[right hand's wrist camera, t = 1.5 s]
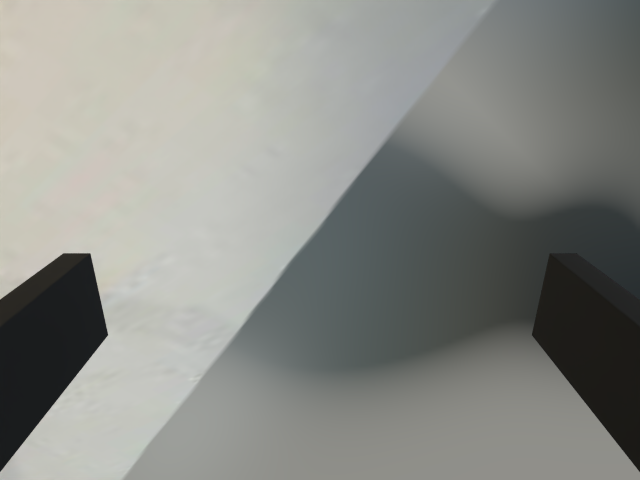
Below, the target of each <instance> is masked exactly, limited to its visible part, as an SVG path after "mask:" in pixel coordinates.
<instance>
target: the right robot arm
mask: <svg viewBox="0 0 640 480" xmlns="http://www.w3.org/2000/svg"><path fill="white" fill-rule="evenodd" d="M107 336H108V332H107V328H106V323H105V319H104V314H103V309H102V305H101V300H100V296H99V291H98V287H97V282H96V277H95V273H94V268H93V264H92V259H91V254H90V253H63V254H62V255H61V256H59V257H58V258H57V259H55V260H54V261H53V262H51V263H50V264H48V265H47V266H46V267H44V268H43V269H42V270H40V271H39V272H37V273H36V274H35V275H33V276H32V277H31V278H29V279H28V280H26V281H25V282H24V283H22V284H21V285H20V286H18V287H17V288H16V289H14V290H13V291H11V292H10V293H9V294H7V295H6V296H5V297H3V298H2V299H0V471H1V470H2V469H3V468H4V466H5V465H6V464H7V463H8V461H9V460H10V459H11V457H12V456H13V455H14V454H15V452H16V451H17V450H18V449H19V447H20V446H21V445H22V444H23V442H24V441H25V440H26V438H27V437H28V436H29V435H30V433H31V432H32V431H33V430H34V428H35V427H36V426H37V425H38V423H39V422H40V421H41V419H42V418H43V417H44V416H45V414H46V413H47V412H48V411H49V409H50V408H51V407H52V405H53V404H54V403H55V402H56V400H57V399H58V398H59V397H60V395H61V394H62V393H63V392H64V390H65V389H66V388H67V386H68V385H69V384H70V383H71V381H72V380H73V379H74V378H75V376H76V375H77V374H78V373H79V371H80V370H81V369H82V367H83V366H84V365H85V364H86V362H87V361H88V360H89V359H90V357H91V356H92V355H93V353H94V352H95V351H96V350H97V348H98V347H99V346H100V345H101V343H102V342H103V341H104V340H105V338H106V337H107ZM532 336H533V337H534V338H535V340H536V341H537V342H538V343H539V345H540V346H541V347H542V348H543V350H544V351H545V352H546V353H547V355H548V356H549V357H550V359H551V360H552V361H553V362H554V364H555V365H556V366H557V367H558V369H559V370H560V371H561V373H562V374H563V375H564V376H565V378H566V379H567V380H568V381H569V383H570V384H571V385H572V386H573V388H574V389H575V390H576V391H577V393H578V394H579V395H580V397H581V398H582V399H583V400H584V402H585V403H586V404H587V405H588V407H589V408H590V409H591V411H592V412H593V413H594V414H595V416H596V417H597V418H598V419H599V421H600V422H601V423H602V425H603V426H604V427H605V428H606V430H607V431H608V432H609V433H610V435H611V436H612V437H613V438H614V440H615V441H616V442H617V444H618V445H619V446H620V447H621V449H622V450H623V451H624V452H625V454H626V455H627V456H628V457H629V459H630V460H631V461H632V463H633V464H634V465H635V466H636V468H637V469H638V470H639V471H640V299H638V298H637V297H635V296H634V295H633V294H631V293H630V292H629V291H627V290H626V289H624V288H623V287H622V286H620V285H619V284H618V283H616V282H615V281H614V280H612V279H611V278H609V277H608V276H607V275H605V274H604V273H602V272H601V271H600V270H598V269H597V268H596V267H594V266H593V265H592V264H590V263H589V262H587V261H586V260H585V259H583V258H582V257H581V256H579V255H578V254H575V253H568V254H567V253H565V254H564V253H559V254H558V253H553V254H552V253H551V254H549V259H548V264H547V268H546V273H545V278H544V282H543V287H542V291H541V296H540V300H539V305H538V310H537V314H536V319H535V323H534V328H533V333H532Z"/></svg>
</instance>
